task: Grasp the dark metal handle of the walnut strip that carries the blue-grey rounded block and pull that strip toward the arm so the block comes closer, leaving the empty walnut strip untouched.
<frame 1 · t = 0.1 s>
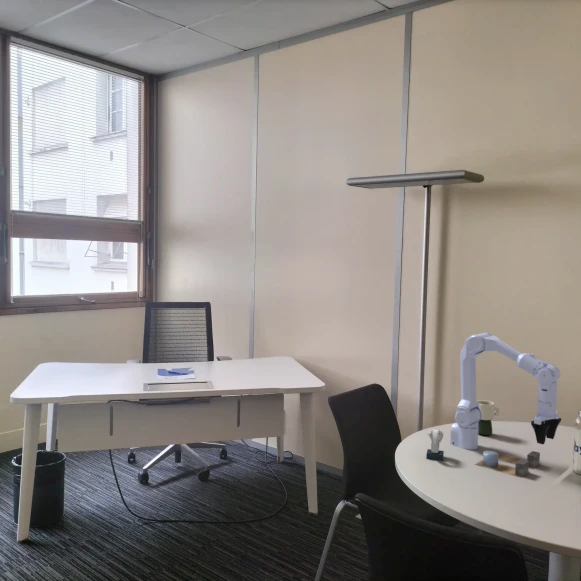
hand: (545, 440, 187), 10 cm above the table, tool pointing down, fingers open, 7 cm apart
blue-grey rounded block: (490, 464, 189), point 1 cm above the table, touching strip loaded
strip empty: (513, 455, 193), point 3 cm above the table, slide at 0.0 cm
strip loaded: (502, 463, 186), point 3 cm above the table, slide at 0.0 cm, touching blue-grey rounded block
character mug: (484, 434, 225), on the table
white figurine on base: (434, 461, 196), on the table
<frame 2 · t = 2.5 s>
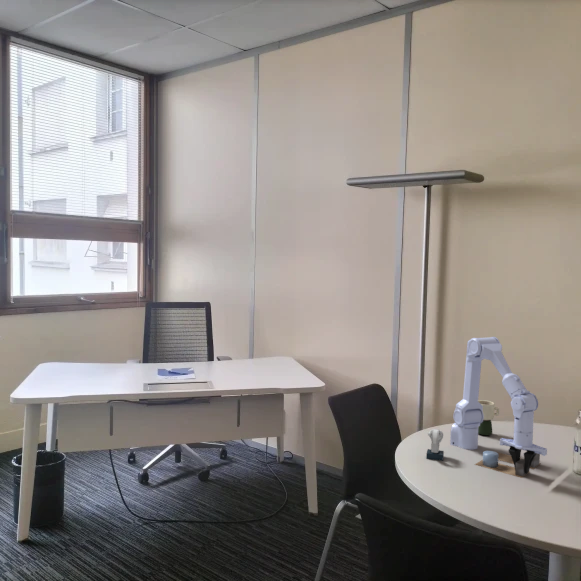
hand: (521, 471, 182), 2 cm above the table, tool pointing down, fingers closed on strip loaded, 2 cm apart
strip loaded: (502, 463, 186), point 3 cm above the table, slide at 0.0 cm, touching gripper, blue-grey rounded block
everything else where it was.
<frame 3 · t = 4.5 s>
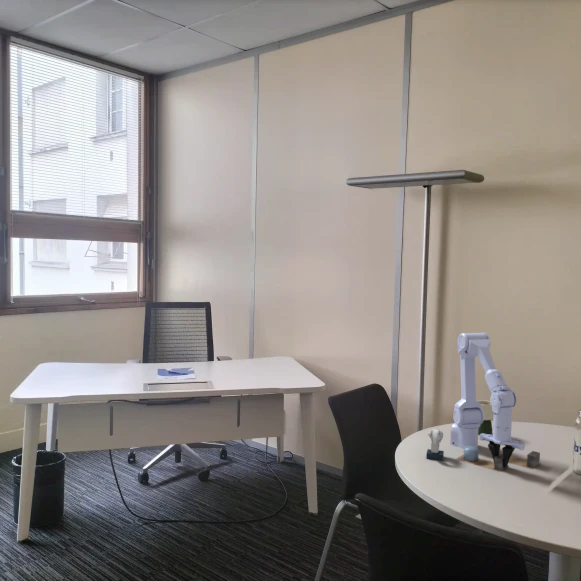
hand: (500, 465, 186), 2 cm above the table, tool pointing down, fingers closed on strip loaded, 2 cm apart
blue-grey rounded block: (470, 459, 194), point 1 cm above the table, touching strip loaded
strip loaded: (482, 458, 191), point 3 cm above the table, slide at 7.0 cm, touching gripper, blue-grey rounded block
everything else where it was.
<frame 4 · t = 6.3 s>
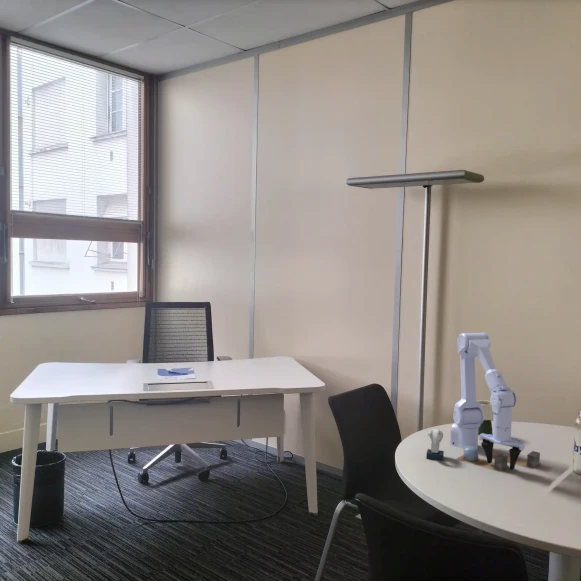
hand: (500, 465, 186), 2 cm above the table, tool pointing down, fingers open, 7 cm apart
strip loaded: (482, 458, 191), point 3 cm above the table, slide at 7.0 cm, touching blue-grey rounded block
everything else where it was.
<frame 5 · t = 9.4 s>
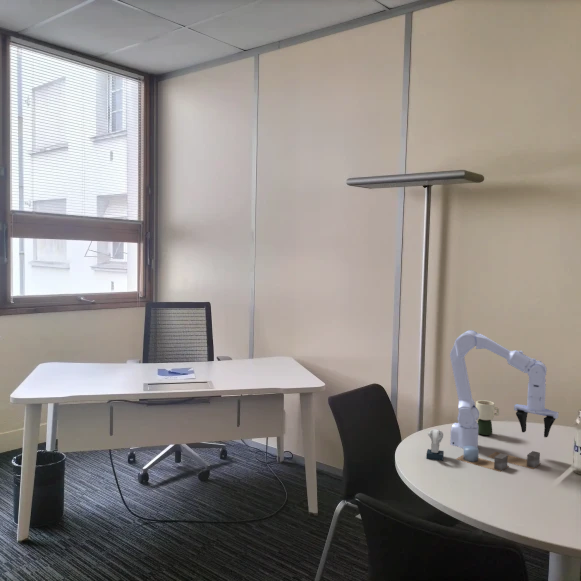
hand: (534, 434, 196), 9 cm above the table, tool pointing down, fingers open, 7 cm apart
nothing on the table moved.
at the end: blue-grey rounded block inside the target area (0.8 cm from its centre), point 1.1 cm above the table; strip loaded slide at 7.0 cm; strip empty slide at 0.0 cm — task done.
